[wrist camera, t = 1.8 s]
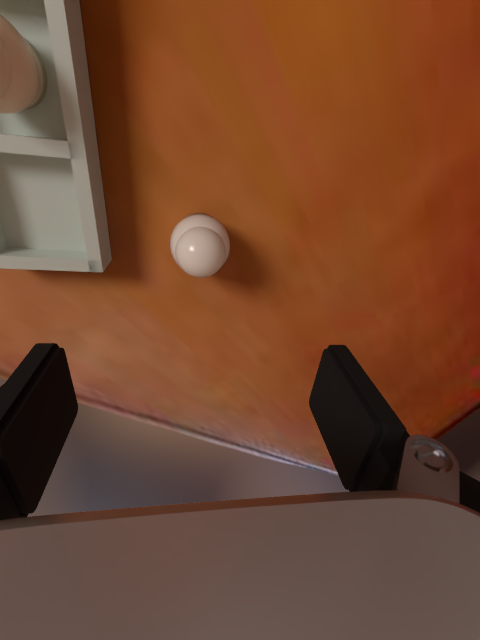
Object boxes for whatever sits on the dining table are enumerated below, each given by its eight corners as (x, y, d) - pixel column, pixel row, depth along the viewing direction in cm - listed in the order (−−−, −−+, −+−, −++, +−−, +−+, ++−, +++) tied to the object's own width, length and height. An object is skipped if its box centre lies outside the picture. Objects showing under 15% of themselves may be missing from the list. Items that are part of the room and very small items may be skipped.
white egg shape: (229, 210, 26) (237, 229, 21) (225, 263, 28) (231, 292, 23) (171, 206, 25) (165, 224, 20) (173, 261, 28) (167, 290, 22)
